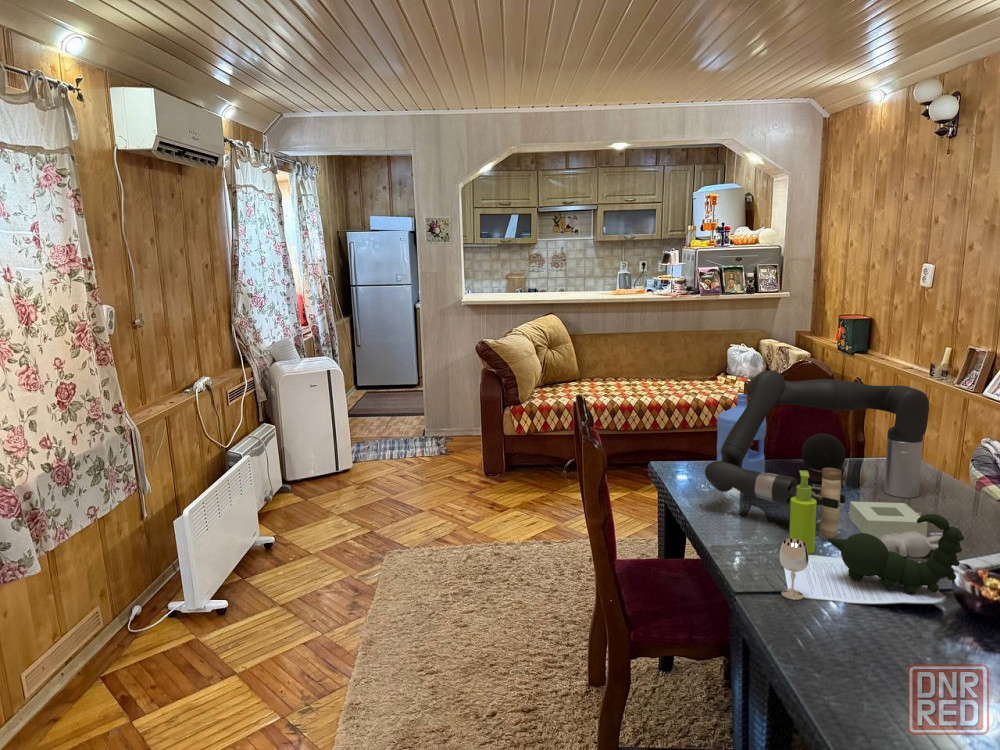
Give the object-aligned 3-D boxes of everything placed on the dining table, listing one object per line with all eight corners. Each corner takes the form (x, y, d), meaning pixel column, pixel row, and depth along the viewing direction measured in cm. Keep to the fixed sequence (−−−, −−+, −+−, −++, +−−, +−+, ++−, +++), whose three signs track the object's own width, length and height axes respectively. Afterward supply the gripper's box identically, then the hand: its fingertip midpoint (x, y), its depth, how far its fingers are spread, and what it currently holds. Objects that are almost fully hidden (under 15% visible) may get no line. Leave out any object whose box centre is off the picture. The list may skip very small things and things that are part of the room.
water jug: (714, 479, 221) (716, 398, 217) (718, 466, 236) (719, 389, 231) (764, 483, 215) (766, 400, 211) (764, 469, 230) (767, 391, 225)
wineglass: (806, 590, 145) (809, 539, 143) (806, 603, 140) (809, 550, 138) (778, 586, 148) (780, 536, 146) (777, 598, 142) (779, 546, 140)
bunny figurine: (871, 529, 167) (938, 526, 163) (873, 548, 168) (939, 545, 164) (882, 544, 158) (953, 541, 154) (884, 564, 159) (955, 562, 155)
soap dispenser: (812, 544, 169) (815, 469, 166) (815, 555, 162) (819, 477, 159) (787, 541, 171) (790, 467, 167) (789, 552, 164) (792, 476, 161)
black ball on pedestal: (848, 476, 220) (851, 432, 218) (837, 486, 211) (840, 441, 208) (807, 469, 229) (809, 427, 227) (795, 479, 219) (796, 435, 217)
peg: (817, 531, 176) (820, 467, 173) (835, 532, 175) (838, 467, 172) (822, 538, 172) (825, 472, 169) (840, 539, 171) (844, 473, 168)
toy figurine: (946, 592, 146) (822, 563, 157) (962, 512, 142) (834, 488, 153) (953, 612, 137) (821, 580, 148) (970, 528, 134) (834, 502, 144)
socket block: (849, 518, 184) (850, 501, 184) (903, 520, 182) (904, 503, 181) (866, 538, 171) (868, 520, 170) (926, 540, 168) (927, 522, 167)
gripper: (765, 481, 177) (832, 495, 164) (787, 468, 186) (852, 481, 174) (764, 508, 178) (831, 523, 166) (786, 494, 188) (850, 508, 175)
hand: (841, 501), depth 170 cm, fingers closed on peg, 4 cm apart
